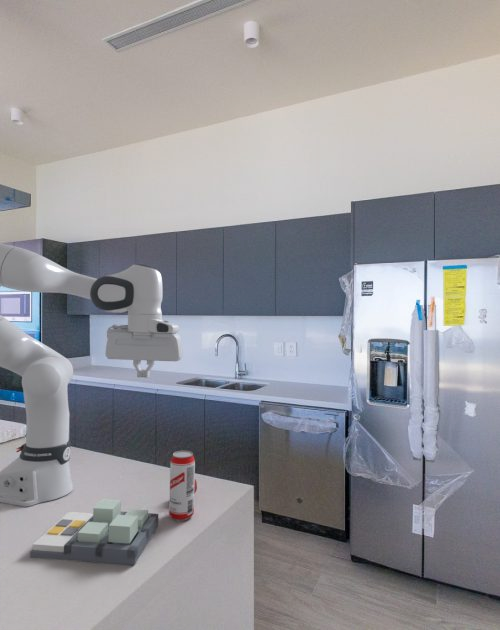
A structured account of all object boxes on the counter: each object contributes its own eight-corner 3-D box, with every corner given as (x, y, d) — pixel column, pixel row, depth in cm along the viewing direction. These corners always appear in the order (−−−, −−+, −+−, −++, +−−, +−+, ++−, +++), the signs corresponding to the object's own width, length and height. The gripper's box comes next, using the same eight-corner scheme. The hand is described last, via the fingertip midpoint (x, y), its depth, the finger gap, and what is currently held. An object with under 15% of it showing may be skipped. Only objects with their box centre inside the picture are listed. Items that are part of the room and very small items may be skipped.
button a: (77, 549, 83) (77, 532, 83) (88, 537, 87) (88, 521, 88) (98, 550, 83) (98, 534, 83) (107, 538, 87) (108, 522, 87)
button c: (108, 542, 82) (108, 525, 82) (117, 530, 87) (118, 514, 87) (129, 543, 82) (130, 526, 82) (137, 531, 87) (138, 515, 87)
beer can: (182, 525, 96) (183, 459, 96) (163, 517, 99) (165, 454, 99) (198, 514, 101) (200, 452, 101) (180, 508, 104) (181, 448, 105)
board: (29, 557, 82) (30, 542, 82) (69, 520, 97) (69, 508, 97) (134, 565, 80) (135, 550, 80) (158, 526, 95) (158, 513, 95)
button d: (121, 533, 89) (121, 518, 89) (129, 523, 94) (129, 508, 94) (141, 535, 89) (141, 519, 89) (147, 524, 93) (148, 510, 93)
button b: (93, 523, 90) (93, 508, 90) (102, 513, 94) (102, 498, 94) (112, 524, 89) (112, 509, 89) (120, 514, 94) (121, 500, 94)
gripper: (102, 324, 102) (100, 377, 102) (178, 326, 100) (177, 380, 100) (112, 324, 109) (111, 374, 108) (184, 326, 107) (183, 376, 107)
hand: (143, 377), depth 104 cm, fingers closed
